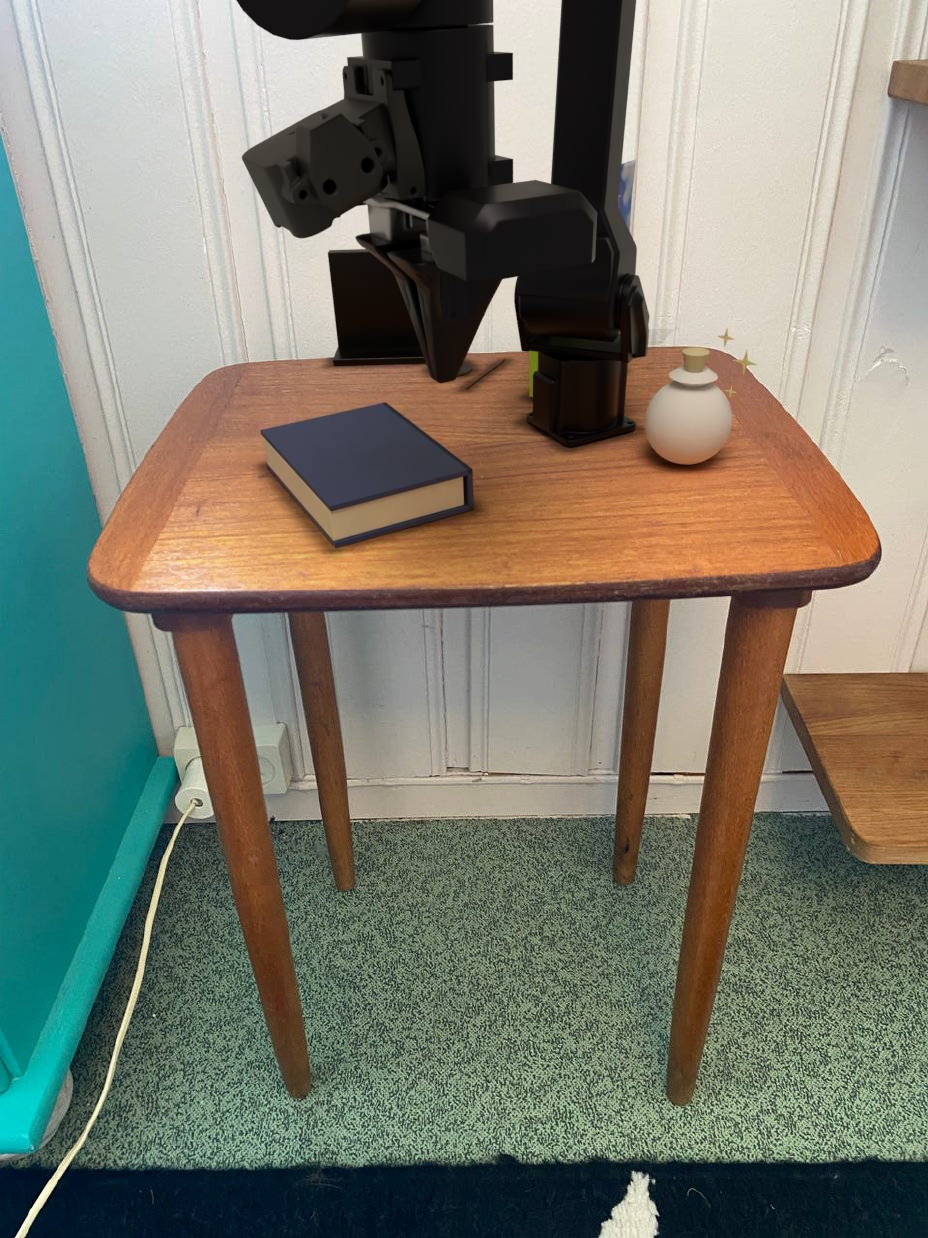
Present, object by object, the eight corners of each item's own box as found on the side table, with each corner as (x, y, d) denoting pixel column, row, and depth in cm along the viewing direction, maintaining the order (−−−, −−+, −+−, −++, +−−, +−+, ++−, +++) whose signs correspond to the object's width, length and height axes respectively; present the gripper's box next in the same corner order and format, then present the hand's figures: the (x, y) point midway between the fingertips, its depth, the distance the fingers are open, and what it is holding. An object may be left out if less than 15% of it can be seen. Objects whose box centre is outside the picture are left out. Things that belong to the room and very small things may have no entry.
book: (388, 438, 72) (385, 401, 70) (473, 509, 61) (472, 468, 60) (266, 467, 68) (260, 429, 66) (335, 548, 58) (329, 506, 56)
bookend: (440, 345, 90) (435, 246, 85) (438, 362, 86) (433, 259, 81) (340, 348, 90) (328, 249, 85) (333, 365, 86) (321, 262, 81)
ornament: (666, 437, 70) (679, 304, 64) (758, 460, 66) (781, 321, 60) (626, 465, 66) (636, 327, 61) (721, 491, 62) (742, 346, 57)
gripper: (186, 33, 43) (243, 359, 52) (330, 43, 29) (373, 483, 38) (400, 22, 47) (419, 325, 56) (614, 26, 33) (594, 426, 42)
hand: (443, 380), depth 48 cm, fingers closed
